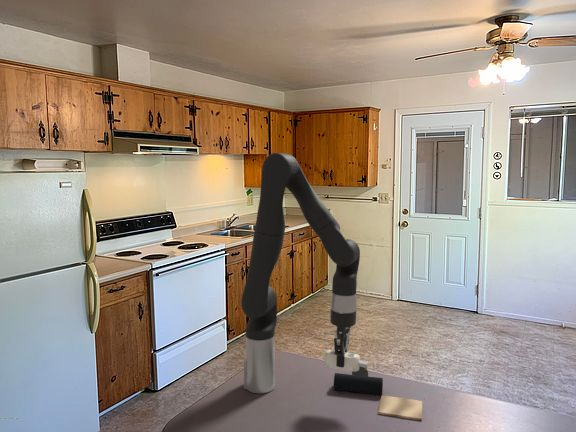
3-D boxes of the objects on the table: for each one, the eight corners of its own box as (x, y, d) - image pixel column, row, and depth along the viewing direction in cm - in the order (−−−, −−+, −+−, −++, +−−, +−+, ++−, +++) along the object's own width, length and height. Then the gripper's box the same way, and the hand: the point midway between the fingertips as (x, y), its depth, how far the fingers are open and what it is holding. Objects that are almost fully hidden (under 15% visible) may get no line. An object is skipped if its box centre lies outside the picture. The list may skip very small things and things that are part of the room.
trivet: (378, 413, 129) (378, 411, 128) (381, 397, 138) (381, 395, 138) (421, 420, 125) (421, 418, 125) (422, 402, 134) (422, 401, 134)
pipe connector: (338, 361, 152) (383, 365, 149) (338, 375, 153) (383, 380, 149) (333, 377, 141) (382, 382, 137) (333, 392, 142) (382, 398, 138)
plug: (322, 366, 134) (323, 353, 133) (325, 361, 137) (326, 348, 136) (366, 373, 130) (367, 360, 129) (367, 368, 133) (368, 355, 133)
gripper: (335, 299, 139) (333, 352, 141) (325, 313, 126) (323, 372, 128) (359, 302, 137) (357, 356, 139) (352, 316, 124) (350, 376, 126)
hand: (341, 363), depth 133 cm, fingers closed on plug, 3 cm apart
